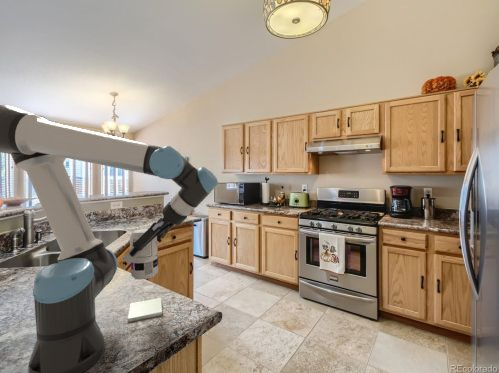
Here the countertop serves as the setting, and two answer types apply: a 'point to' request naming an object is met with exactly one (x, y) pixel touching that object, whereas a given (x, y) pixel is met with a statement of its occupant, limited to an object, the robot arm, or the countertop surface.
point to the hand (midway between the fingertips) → (135, 256)
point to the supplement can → (144, 257)
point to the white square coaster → (145, 309)
